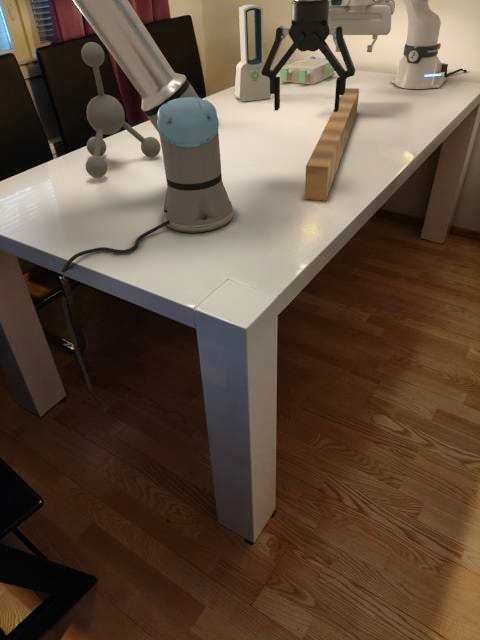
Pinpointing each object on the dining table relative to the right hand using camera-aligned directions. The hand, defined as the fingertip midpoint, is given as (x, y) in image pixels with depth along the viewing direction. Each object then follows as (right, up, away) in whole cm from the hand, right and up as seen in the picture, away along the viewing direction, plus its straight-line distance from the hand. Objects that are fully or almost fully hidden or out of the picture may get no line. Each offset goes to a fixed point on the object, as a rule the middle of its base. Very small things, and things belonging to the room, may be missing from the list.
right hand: (353, 51), depth 149 cm
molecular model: (-67, -38, -12) cm, 78 cm away
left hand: (-20, -34, -38) cm, 54 cm away
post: (-8, -33, -11) cm, 36 cm away
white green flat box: (-6, +21, +59) cm, 63 cm away
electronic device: (-30, +3, +38) cm, 48 cm away
